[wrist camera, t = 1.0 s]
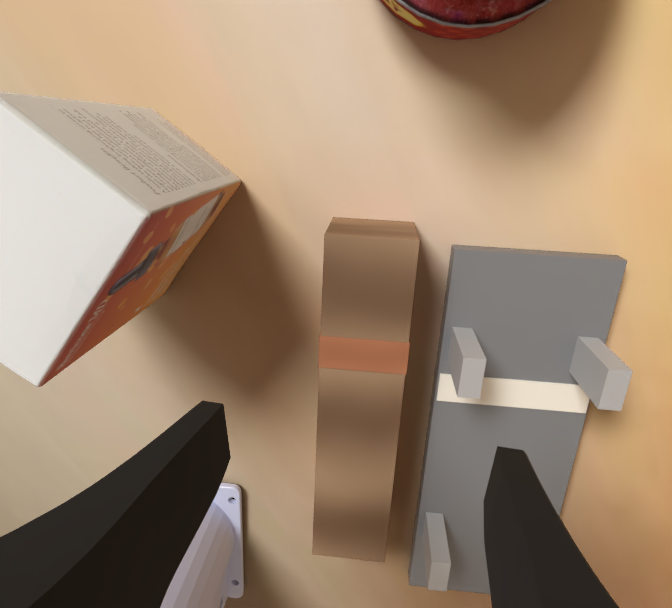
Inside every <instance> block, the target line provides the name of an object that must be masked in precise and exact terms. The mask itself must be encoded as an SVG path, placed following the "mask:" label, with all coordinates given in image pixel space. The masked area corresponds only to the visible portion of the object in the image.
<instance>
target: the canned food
mask: <svg viewBox="0 0 672 608" xmlns="http://www.w3.org/2000/svg"><path fill="white" fill-rule="evenodd" d="M380 1H381V2H382V3H383V4H384V5H385V6H386V7H387V8H388V9H389V10H390V11H391V12H392V13H393V14H394V15H395V16H396V17H397V18H399V19H400V20H402V21H403V22H405V23H406V24H408V25H409V26H411V27H412V28H414V29H416V30H418V31H421V32H424V33H426V34H429V35H431V36H434V37H440V38H447V39H454V40H462V39H474V38H481V37H485V36H488V35H492V34H495V33H498V32H502V31H504V30H506V29H508V28H509V27H511V26H513V25H515V24H517V23H519V22H521V21H523V20H524V19H526V18H527V17H528V16H530V15H531V14H532V13H533V12H535V11H536V10H537V9H539V8H541V7H543V6H544V5H546V4H547V3H548V2H550V1H551V0H380Z"/></svg>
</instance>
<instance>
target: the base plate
mask: <svg viewBox="0 0 672 608" xmlns="http://www.w3.org/2000/svg"><path fill="white" fill-rule="evenodd" d="M626 264H627V260H625V259H623V258H621V257H619V256H617V255H602V254H587V253H572V252H556V251H541V250H525V249H510V248H494V247H479V246H464V245H452V248H451V256H450V263H449V271H448V278H447V286H446V293H445V301H444V308H443V316H442V323H441V331H440V338H439V346H438V353H437V361H436V368H435V376H434V383H433V391H432V398H431V406H430V413H429V421H428V428H427V436H426V443H425V451H424V458H423V466H422V473H421V481H420V488H419V496H418V503H417V511H416V518H415V526H414V533H413V541H412V548H411V556H410V563H409V571H408V574H409V585H412V586H421V587H427V588H428V590H437V591H446V590H447V589H448V590H457V591H466V592H475V593H484V594H491V593H490V585H489V578H488V570H487V562H486V554H485V545H484V502H483V501H484V497H485V493H486V489H487V485H488V481H489V477H490V473H491V469H492V465H493V461H494V457H495V453H496V450H497V446H500V447H506V448H513V449H519V450H523V451H524V452H525V453H526V454H527V456H528V458H529V460H530V462H531V465H532V467H533V469H534V471H535V473H536V475H537V477H538V479H539V481H540V483H541V485H542V487H543V488H544V490H545V492H546V494H547V496H548V498H549V500H550V501H551V503H552V505H553V507H554V509H555V510H556V512H557V514H558V516H559V515H560V512H561V508H562V504H563V500H564V497H565V493H566V489H567V485H568V482H569V478H570V474H571V470H572V467H573V463H574V459H575V455H576V451H577V448H578V444H579V440H580V436H581V433H582V429H583V425H584V421H585V418H586V414H587V410H588V406H589V403H590V400H591V401H592V402H593V403H594V405H595V406H596V407H597V409H603V410H615V411H621V409H622V406H623V402H624V399H625V396H626V392H627V389H628V385H629V382H630V379H631V375H632V372H633V371H632V370H631V369H630V368H629V367H628V366H627V365H626V364H625V363H624V362H623V361H622V360H621V359H620V358H619V357H618V356H617V355H616V354H614V353H613V352H612V351H611V350H610V349H609V348H608V347H607V346H606V345H605V343H606V339H607V335H608V331H609V328H610V324H611V320H612V316H613V313H614V309H615V305H616V301H617V298H618V294H619V290H620V286H621V282H622V279H623V275H624V271H625V267H626Z"/></svg>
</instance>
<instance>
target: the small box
mask: <svg viewBox="0 0 672 608" xmlns="http://www.w3.org/2000/svg"><path fill="white" fill-rule="evenodd" d="M240 184H241V180H240V179H239V178H238V177H237V176H236V175H235V174H233V173H232V172H231V171H230V170H228V169H227V168H226V167H225V166H224V165H222V164H221V163H220V162H219V161H217V160H216V159H215V158H214V157H213V156H211V155H210V154H209V153H208V152H206V151H205V150H204V149H203V148H201V147H200V146H199V145H198V144H196V143H195V142H194V141H193V140H191V139H190V138H189V137H188V136H186V135H185V134H184V133H183V132H181V131H180V130H179V129H178V128H176V127H175V126H174V125H173V124H171V123H170V122H169V121H168V120H166V119H165V118H164V117H163V116H161V115H160V114H159V113H157V112H156V111H155V110H154V109H152V108H146V107H136V106H128V105H118V104H109V103H100V102H91V101H82V100H73V99H63V98H55V97H44V96H35V95H26V94H16V93H8V92H0V363H1V364H3V365H4V366H6V367H7V368H9V369H10V370H12V371H13V372H15V373H16V374H18V375H19V376H21V377H23V378H24V379H26V380H28V381H29V382H30V383H32V384H33V385H35V386H38V387H41V386H43V385H44V384H45V383H46V382H48V381H49V380H50V379H52V378H53V377H54V376H56V375H57V374H58V373H60V372H61V371H62V370H64V369H65V368H66V367H68V366H69V365H70V364H72V363H73V362H74V361H76V360H77V359H78V358H80V357H81V356H82V355H84V354H85V353H86V352H88V351H89V350H90V349H92V348H93V347H94V346H96V345H97V344H98V343H100V342H101V341H102V340H104V339H105V338H107V337H108V336H109V335H111V334H112V333H113V332H115V331H116V330H117V329H119V328H120V327H121V326H123V325H124V324H125V323H127V322H128V321H129V320H131V319H132V318H133V317H135V316H136V315H137V314H139V313H140V312H141V311H143V310H144V309H145V308H147V307H148V306H149V305H151V304H152V303H153V302H155V301H156V300H157V299H159V298H160V297H161V296H163V295H164V293H165V292H166V291H167V289H168V287H169V286H170V284H171V283H172V281H173V280H174V278H175V276H176V275H177V273H178V272H179V270H180V269H181V267H182V266H183V264H184V263H185V261H186V260H187V259H188V257H189V256H190V254H191V253H192V251H193V250H194V249H195V247H196V246H197V244H198V243H199V242H200V240H201V239H202V238H203V236H204V235H205V233H206V232H207V231H208V229H209V228H210V226H211V225H212V224H213V222H214V221H215V219H216V218H217V216H218V215H219V214H220V212H221V211H222V209H223V208H224V206H225V205H226V204H227V202H228V201H229V199H230V198H231V197H232V195H233V194H234V192H235V191H236V190H237V188H238V187H239V185H240Z"/></svg>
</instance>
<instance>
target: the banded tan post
mask: <svg viewBox="0 0 672 608" xmlns="http://www.w3.org/2000/svg"><path fill="white" fill-rule="evenodd" d="M419 244H420V239H419V236H418V234H417V231H416V228H415V225H414V222H400V221H384V220H368V219H352V218H336V217H333V219H332V221H331V223H330V225H329V227H328V229H327V231H326V233H325V236H324V262H323V288H322V314H321V332H320V336H319V361H318V367H319V392H318V418H317V444H316V470H315V496H314V522H313V548H312V554H313V555H322V556H331V557H341V558H350V559H359V560H368V561H377V562H385V554H386V545H387V536H388V526H389V517H390V508H391V499H392V490H393V481H394V472H395V463H396V453H397V444H398V435H399V426H400V417H401V408H402V399H403V390H404V380H405V375H406V373H407V364H408V355H409V346H410V341H409V335H410V326H411V317H412V308H413V298H414V289H415V280H416V271H417V262H418V253H419Z"/></svg>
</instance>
